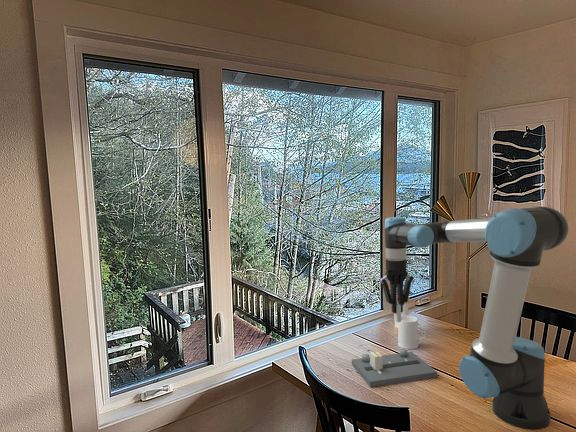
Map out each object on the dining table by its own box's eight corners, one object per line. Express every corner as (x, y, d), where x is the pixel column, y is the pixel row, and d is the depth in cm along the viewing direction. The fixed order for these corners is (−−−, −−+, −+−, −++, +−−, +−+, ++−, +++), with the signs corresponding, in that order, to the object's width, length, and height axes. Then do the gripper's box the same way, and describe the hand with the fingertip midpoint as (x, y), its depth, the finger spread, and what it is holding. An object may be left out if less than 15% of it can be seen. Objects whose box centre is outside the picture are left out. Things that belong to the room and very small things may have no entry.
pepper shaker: (400, 329, 192) (399, 290, 190) (413, 333, 186) (413, 293, 185) (391, 333, 187) (390, 293, 186) (404, 337, 182) (404, 296, 180)
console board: (437, 377, 145) (436, 366, 145) (370, 387, 140) (370, 376, 140) (411, 356, 163) (411, 346, 163) (351, 364, 158) (351, 354, 157)
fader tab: (382, 369, 148) (382, 355, 148) (375, 370, 147) (374, 356, 147) (377, 363, 152) (377, 350, 152) (370, 364, 152) (370, 351, 151)
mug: (428, 345, 173) (428, 318, 172) (422, 352, 166) (421, 324, 165) (402, 339, 180) (401, 314, 179) (394, 346, 173) (394, 319, 172)
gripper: (407, 255, 153) (408, 316, 155) (375, 258, 150) (377, 319, 152) (417, 259, 146) (418, 322, 147) (384, 262, 143) (385, 326, 145)
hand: (397, 321), depth 150 cm, fingers closed
